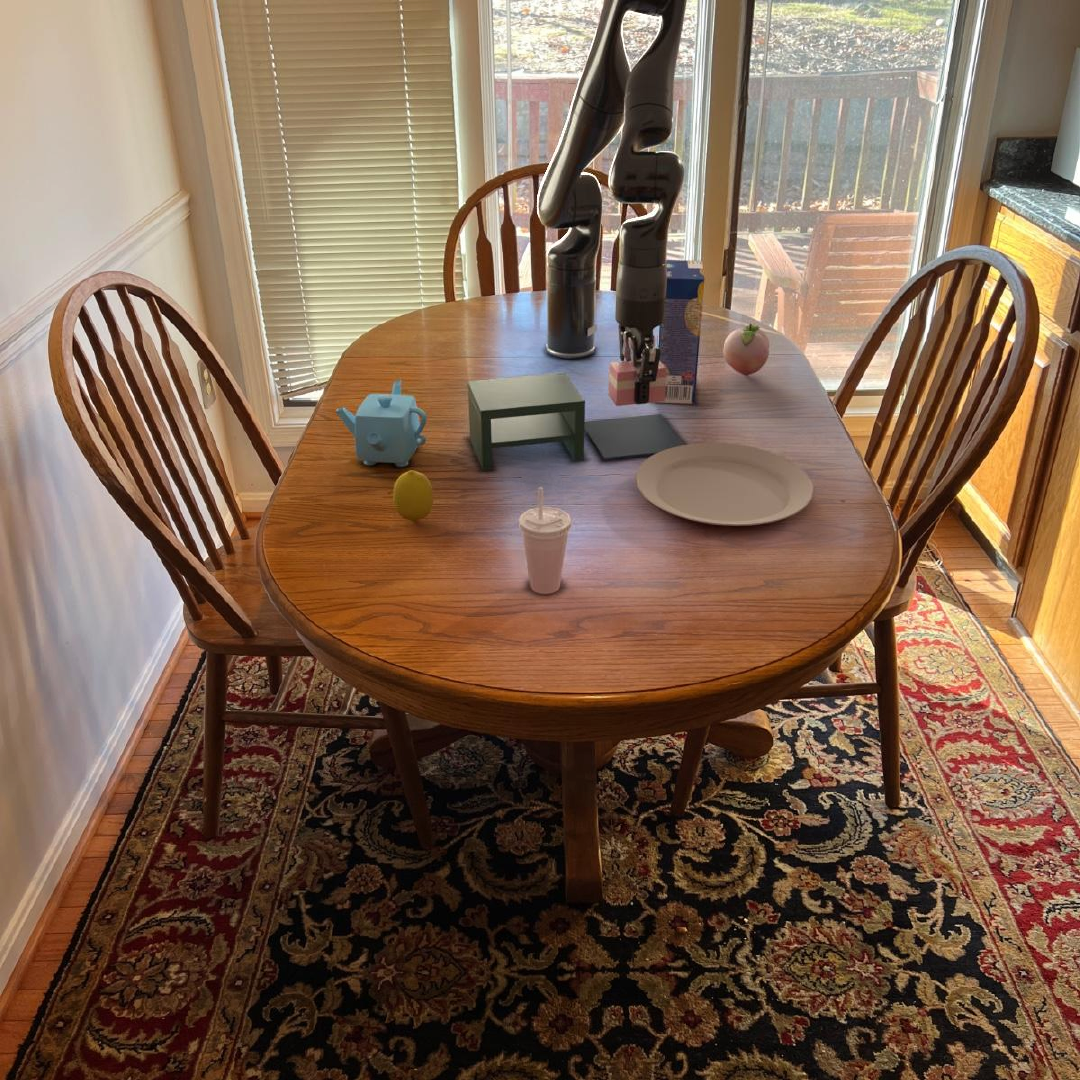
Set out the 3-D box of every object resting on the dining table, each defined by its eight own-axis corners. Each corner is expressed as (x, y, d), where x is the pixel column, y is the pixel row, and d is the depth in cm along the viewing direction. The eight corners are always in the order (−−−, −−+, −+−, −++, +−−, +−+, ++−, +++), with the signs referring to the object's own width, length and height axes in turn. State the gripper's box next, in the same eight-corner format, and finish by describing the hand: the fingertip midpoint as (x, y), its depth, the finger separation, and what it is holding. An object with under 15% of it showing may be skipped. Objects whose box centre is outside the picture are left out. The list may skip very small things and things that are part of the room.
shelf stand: (469, 438, 165) (467, 381, 160) (565, 428, 168) (565, 372, 163) (483, 471, 155) (480, 411, 150) (583, 460, 158) (585, 401, 153)
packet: (607, 395, 162) (608, 362, 159) (655, 390, 164) (657, 358, 161) (616, 406, 158) (617, 372, 156) (665, 401, 160) (667, 368, 157)
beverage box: (692, 380, 186) (701, 260, 174) (694, 404, 176) (704, 279, 165) (654, 378, 186) (661, 259, 175) (655, 402, 177) (662, 278, 166)
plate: (840, 528, 139) (842, 515, 138) (661, 544, 136) (661, 531, 135) (774, 448, 161) (775, 437, 160) (617, 461, 157) (618, 449, 156)
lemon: (441, 515, 143) (438, 464, 139) (424, 534, 139) (421, 482, 134) (405, 509, 145) (401, 459, 140) (388, 527, 140) (383, 476, 136)
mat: (580, 424, 169) (580, 421, 169) (660, 416, 172) (660, 413, 172) (604, 461, 157) (604, 458, 157) (689, 451, 160) (689, 449, 160)
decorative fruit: (722, 365, 192) (727, 313, 187) (766, 368, 191) (772, 316, 186) (719, 383, 184) (724, 330, 179) (765, 386, 183) (771, 333, 178)
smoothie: (518, 573, 130) (516, 476, 123) (567, 570, 130) (569, 474, 123) (521, 601, 125) (520, 501, 117) (573, 598, 125) (575, 499, 118)
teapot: (417, 484, 151) (412, 422, 146) (325, 479, 153) (318, 418, 147) (440, 433, 167) (436, 375, 161) (357, 429, 168) (351, 372, 163)
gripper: (681, 304, 147) (673, 412, 156) (649, 276, 159) (644, 378, 168) (631, 308, 145) (627, 417, 154) (603, 279, 157) (601, 382, 166)
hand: (636, 396), depth 161 cm, fingers closed on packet, 4 cm apart
